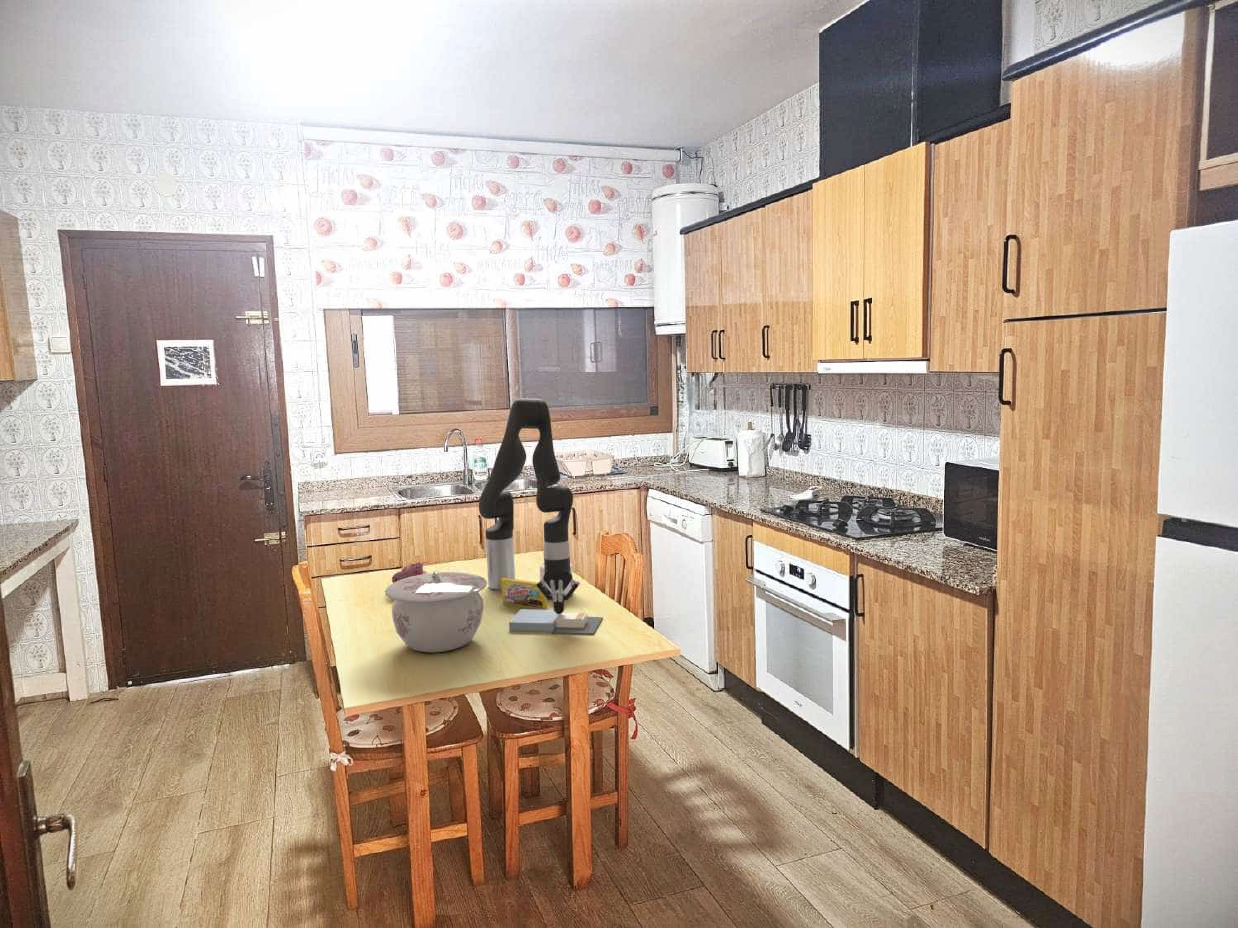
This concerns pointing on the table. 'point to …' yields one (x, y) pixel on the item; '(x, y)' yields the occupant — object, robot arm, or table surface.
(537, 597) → the candy box
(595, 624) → the mat
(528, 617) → the light blue flat block
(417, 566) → the flower
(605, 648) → the table surface
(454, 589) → the chamber pot
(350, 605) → the table surface
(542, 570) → the toilet tissue
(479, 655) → the table surface
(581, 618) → the striped white eraser
